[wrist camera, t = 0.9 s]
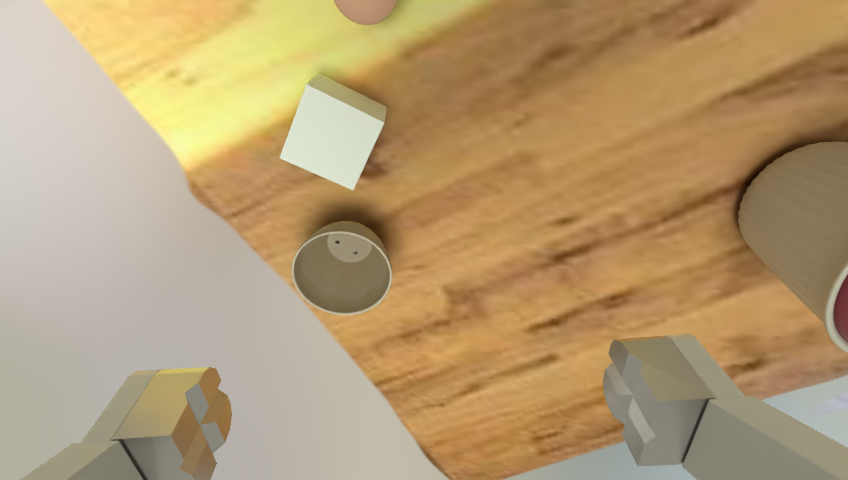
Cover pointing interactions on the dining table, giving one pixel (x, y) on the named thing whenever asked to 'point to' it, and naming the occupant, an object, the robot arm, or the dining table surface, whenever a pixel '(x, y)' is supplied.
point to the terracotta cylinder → (366, 10)
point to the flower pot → (342, 269)
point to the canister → (805, 228)
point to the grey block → (333, 131)
